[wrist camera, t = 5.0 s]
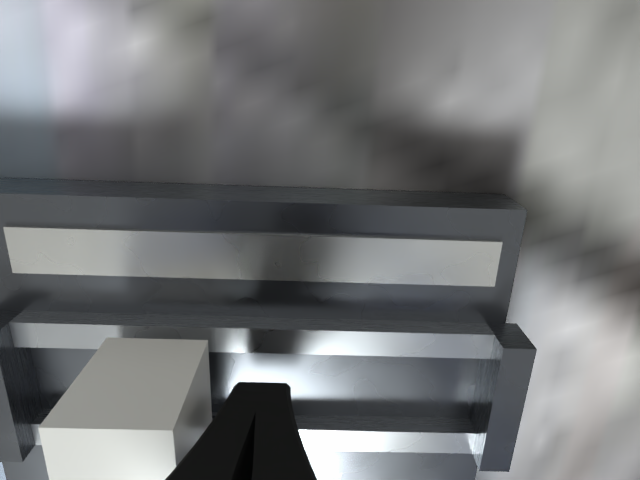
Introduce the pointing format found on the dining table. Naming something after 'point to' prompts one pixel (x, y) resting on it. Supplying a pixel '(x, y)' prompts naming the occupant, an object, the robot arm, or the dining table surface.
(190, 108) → the dining table surface
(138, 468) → the block
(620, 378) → the dining table surface
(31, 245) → the console
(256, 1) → the dining table surface
